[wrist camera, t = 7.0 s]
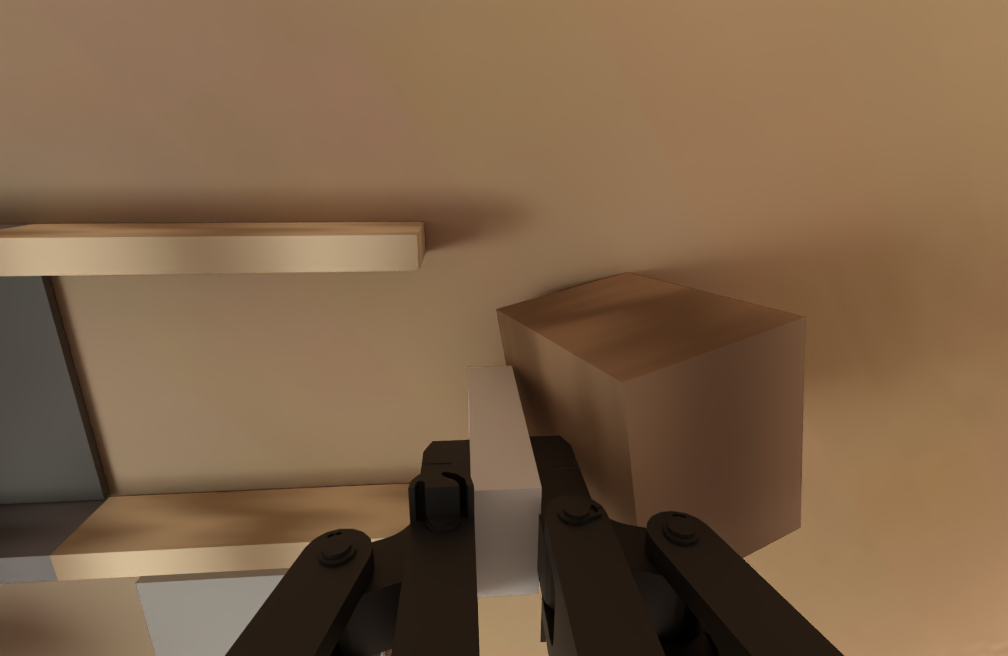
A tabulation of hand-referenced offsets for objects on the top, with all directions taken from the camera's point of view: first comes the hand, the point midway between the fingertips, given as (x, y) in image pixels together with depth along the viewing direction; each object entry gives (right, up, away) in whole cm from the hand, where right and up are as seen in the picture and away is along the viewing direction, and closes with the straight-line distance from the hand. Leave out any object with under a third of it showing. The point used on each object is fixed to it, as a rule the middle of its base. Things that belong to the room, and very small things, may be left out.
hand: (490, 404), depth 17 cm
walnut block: (+3, +1, +1) cm, 3 cm away
